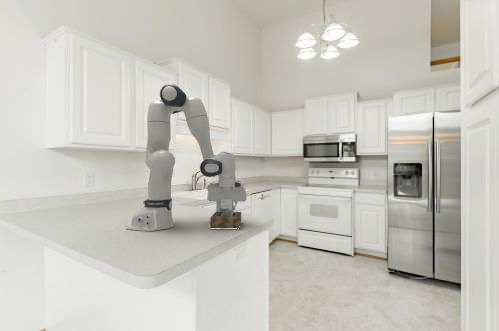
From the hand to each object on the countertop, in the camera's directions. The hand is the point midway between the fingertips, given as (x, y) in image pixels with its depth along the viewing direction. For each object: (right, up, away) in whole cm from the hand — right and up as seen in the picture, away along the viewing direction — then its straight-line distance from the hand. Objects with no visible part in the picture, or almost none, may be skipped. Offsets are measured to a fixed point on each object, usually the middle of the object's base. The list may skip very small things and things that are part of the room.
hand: (227, 209), depth 124 cm
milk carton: (-3, -9, +13) cm, 16 cm away
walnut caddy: (0, -8, 0) cm, 8 cm away
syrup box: (0, -9, 0) cm, 9 cm away
